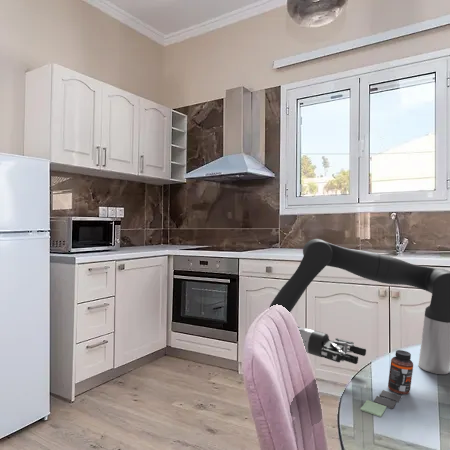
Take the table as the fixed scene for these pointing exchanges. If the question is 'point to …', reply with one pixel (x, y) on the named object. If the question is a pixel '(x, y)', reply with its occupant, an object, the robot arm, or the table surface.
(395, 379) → the supplement bottle
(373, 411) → the track
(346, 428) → the table surface
